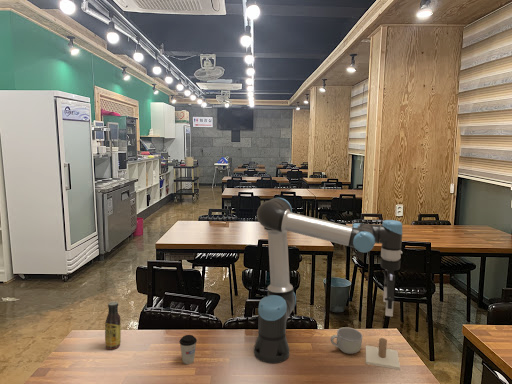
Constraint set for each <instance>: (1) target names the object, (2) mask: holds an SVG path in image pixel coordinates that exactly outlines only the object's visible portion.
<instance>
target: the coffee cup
mask: <svg viewBox="0 0 512 384" xmlns="http://www.w3.org/2000/svg"><path fill="white" fill-rule="evenodd" d="M197 341H198V339H197V338H196V337H195V335H192V334H185V335H183V336H182V337H181V338H180V339H179V344H180V345H179V346H180V353H181V359H182V360H181V361H182V363H183V364H184V365H190V364H193V363H194V362H195V354H196V347H197Z"/></svg>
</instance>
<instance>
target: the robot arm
mask: <svg viewBox="0 0 512 384" xmlns="http://www.w3.org/2000/svg"><path fill="white" fill-rule="evenodd" d="M256 218H257V221H258V223H259V224H260V225H261V226H262V227H263V229H264V231H265V232H267V239H268V240H267V241H268V256H269V257H268V258H269V259H268V261H269V276H270V284H269V285H267V296H264V297H263V298H261V299H260V300H259V303H258V309H257V311H258V317H257V318H258V322H257V325H258V326H257V327H258V328H257V329H258V331H257V333H258V334H257V337H256V339H255V340H256V341H255V342H254V346H253V356H254V357H255V358H256V359H257V360H259V361H261V362H264V363H267V364H277V363H281V362H284V361H286V360H287V359H288V358H289V357H290V346H289V342H288V340H287V336H286V334H287V333H286V332H287V320H288V319H289V317H290V315H291V313H292V312H293V311H294V309H295V307H296V303H297V296H296V293H295V292H294V287H293V284H292V283H290V266H289V248H288V247H289V246H288V245H289V244H288V232H290V233H295V234H299V235H303V236H305V237H309V238H310V237H311V238H314V239H319V240H322V241H325V242H326V241H327V242H331V243H334V244H339V245H341V246H342V245H343V246H347V247H350V248H354V249H355V250H357V252H360V253H364V254H365V253H369V252H371V251H372V250H373V249H374V247H375V245H376V244H381V248H380V249H381V251H380V257H381V258H380V267H381V269H384V272H383V274H384V277H383V278H384V280H383V286H384V287H383V297H382V299H383V300H382V301H383V303H385V312H384V313H385V314H384V315H385V316H386V317H393V316H394V314H393V313H394V302H395V283H396V272H395V271H399V270H400V269H401V262H402V261H401V255H402V254H403V251H402V244H403V243H402V242H403V223H402V221H399V220H393V219H386V220H385V219H384V220H383V221H382V224H370V223H362V222H355V223H353V224H351V225H352V226H351V225H347V224H346V225H345V224H341V223H338V222H337V223H336V222H333V221H330V220H329V221H328V220H325V219H320V218H316V217H311V216H308V215H303V214H299V213H294V212H293V208H292V205H291V204H290V202H289V201H288V200H286V199H285V198H283V197H274V198H271V199H269V200H267V201H264V202H263V203H261V204H260V206H258V209H257V211H256Z"/></svg>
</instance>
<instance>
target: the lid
mask: <svg viewBox="0 0 512 384" xmlns="http://www.w3.org/2000/svg"><path fill="white" fill-rule="evenodd" d="M387 345H388V340H387V339H386V338H383V337H380V338H379V340H378V347H377V346H372V345H365V365H368V364H369V366H374V365H375V366H374V367H381V368H385V367H386V369H391V368H392V369H393V370H397V369H398V370H399V371H401V364H400V359H399V352H398V350H397V349H393V348H392V349H391V348H390V349H389V348H387Z"/></svg>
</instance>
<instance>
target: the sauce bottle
mask: <svg viewBox="0 0 512 384" xmlns="http://www.w3.org/2000/svg"><path fill="white" fill-rule="evenodd" d="M107 307H108V311H107V316H106V319H105V322H104V325H105V327H104V331H105V332H104V334H105V335H104V345H105V348H106V349H107V350H116V349H118V348H119V347H120V345H121V335H122V333H121V330H122V329H121V325H122V323H121V315H120V314H119V310H118V309H119V302H118V301H114V300H113V301H109V302H108V303H107Z"/></svg>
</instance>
